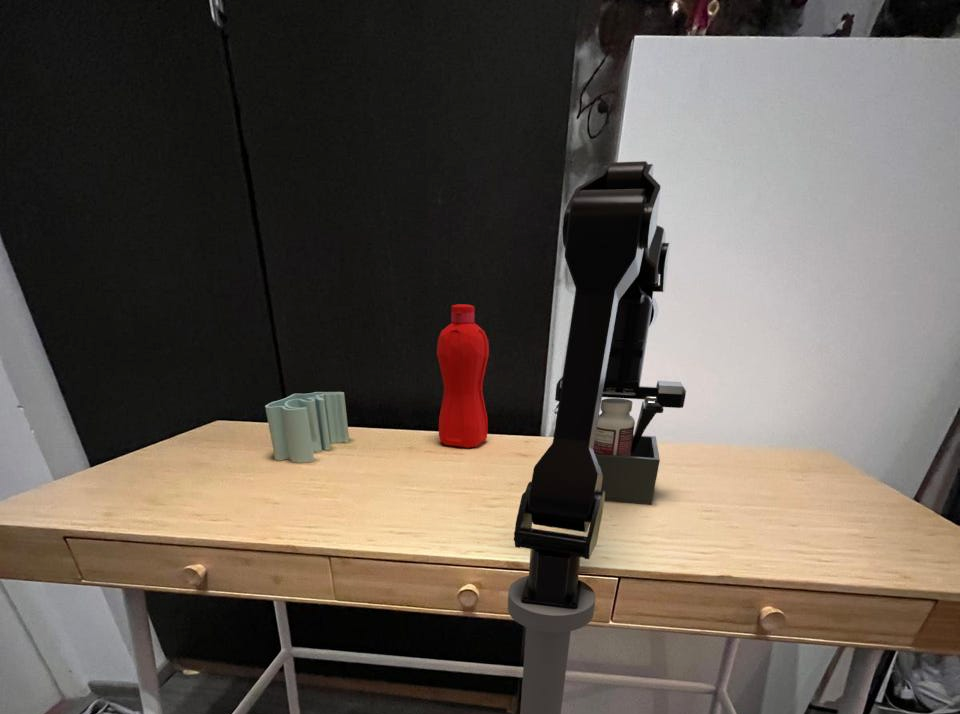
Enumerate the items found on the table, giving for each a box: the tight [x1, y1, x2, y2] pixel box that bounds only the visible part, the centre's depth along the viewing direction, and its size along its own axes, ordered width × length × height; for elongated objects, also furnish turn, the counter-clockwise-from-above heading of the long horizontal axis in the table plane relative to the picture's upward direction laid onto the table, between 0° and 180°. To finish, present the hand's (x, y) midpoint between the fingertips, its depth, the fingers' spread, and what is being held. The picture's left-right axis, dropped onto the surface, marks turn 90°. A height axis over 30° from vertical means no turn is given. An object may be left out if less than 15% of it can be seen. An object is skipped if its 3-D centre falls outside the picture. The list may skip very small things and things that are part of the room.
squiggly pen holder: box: [264, 391, 350, 464], centre depth 110 cm, size 18×10×9 cm, turn 171°
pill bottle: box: [593, 397, 636, 456], centre depth 89 cm, size 6×6×11 cm
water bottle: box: [436, 303, 490, 449], centre depth 112 cm, size 9×11×25 cm
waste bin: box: [595, 434, 661, 505], centre depth 94 cm, size 15×15×7 cm
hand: (611, 449), depth 90 cm, fingers closed on pill bottle, 6 cm apart
